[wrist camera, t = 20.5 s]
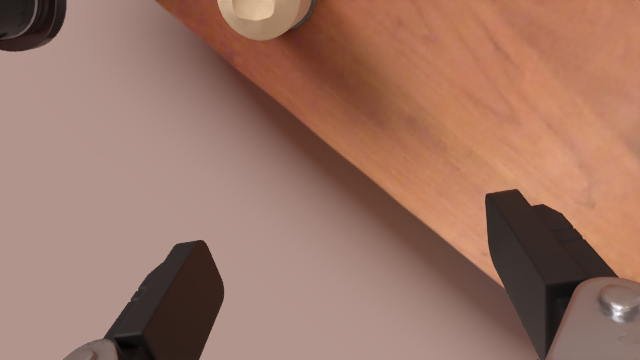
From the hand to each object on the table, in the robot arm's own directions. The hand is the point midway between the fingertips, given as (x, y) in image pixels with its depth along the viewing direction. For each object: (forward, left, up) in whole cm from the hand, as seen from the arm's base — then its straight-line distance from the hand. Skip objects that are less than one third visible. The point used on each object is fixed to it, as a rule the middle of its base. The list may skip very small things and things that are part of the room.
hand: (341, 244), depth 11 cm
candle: (-8, +3, -28) cm, 29 cm away
